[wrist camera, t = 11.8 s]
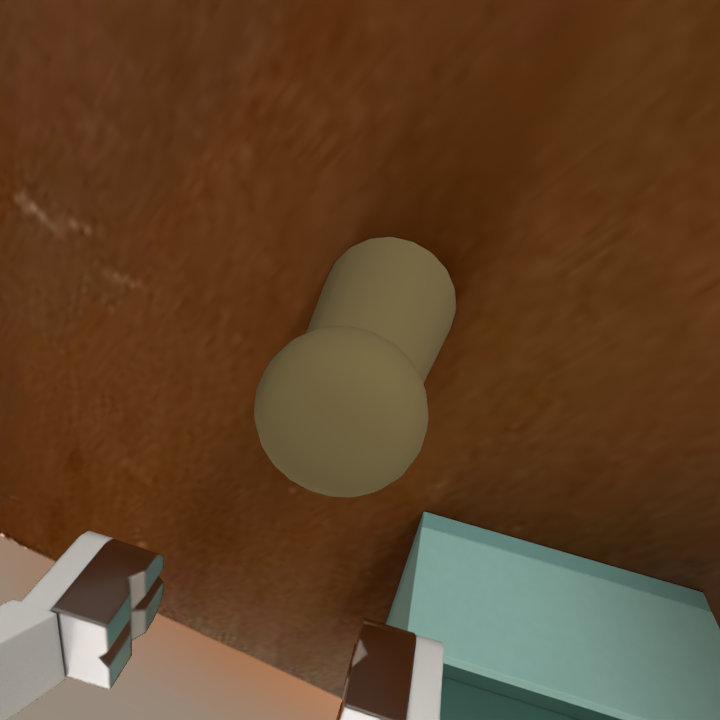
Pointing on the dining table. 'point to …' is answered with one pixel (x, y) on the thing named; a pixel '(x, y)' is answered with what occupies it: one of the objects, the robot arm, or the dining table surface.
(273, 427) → the cork
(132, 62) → the dining table surface
